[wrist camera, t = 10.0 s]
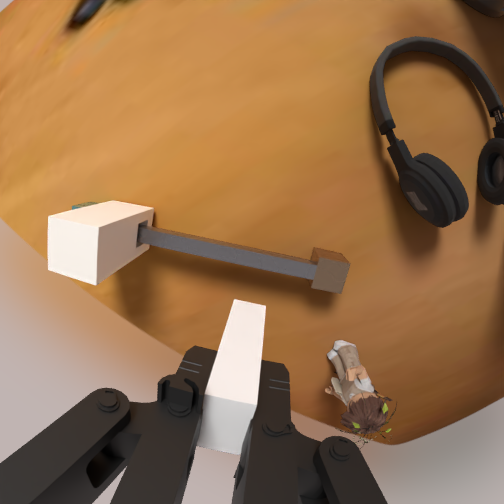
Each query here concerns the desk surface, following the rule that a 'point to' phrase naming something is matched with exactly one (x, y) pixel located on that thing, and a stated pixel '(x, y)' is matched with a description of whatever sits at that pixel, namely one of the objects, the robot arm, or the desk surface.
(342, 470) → the robot arm
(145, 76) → the desk surface
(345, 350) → the toy
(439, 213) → the headphones
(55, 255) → the sleeve
